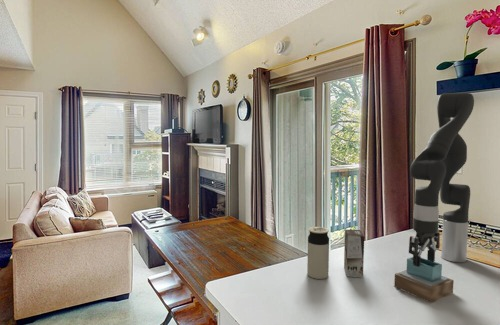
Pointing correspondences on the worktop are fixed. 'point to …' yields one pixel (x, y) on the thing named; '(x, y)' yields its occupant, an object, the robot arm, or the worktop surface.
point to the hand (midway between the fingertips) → (423, 263)
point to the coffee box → (354, 253)
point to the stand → (424, 286)
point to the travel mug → (318, 253)
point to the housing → (425, 269)
